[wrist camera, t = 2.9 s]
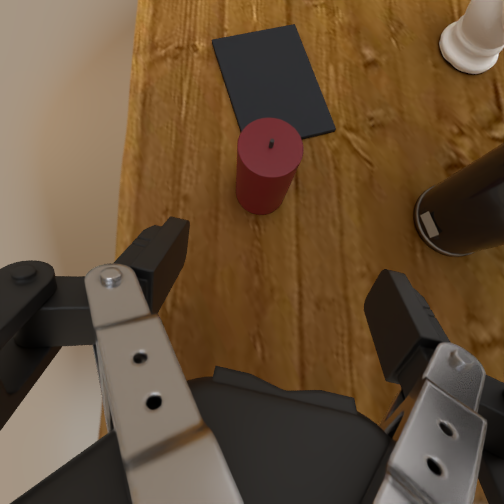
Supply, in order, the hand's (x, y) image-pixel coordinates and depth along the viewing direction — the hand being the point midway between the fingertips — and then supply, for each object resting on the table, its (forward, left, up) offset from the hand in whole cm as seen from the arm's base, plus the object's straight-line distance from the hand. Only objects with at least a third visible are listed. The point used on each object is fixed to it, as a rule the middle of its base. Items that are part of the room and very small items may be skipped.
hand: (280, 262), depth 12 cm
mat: (-11, -26, -22) cm, 36 cm away
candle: (-5, -12, -22) cm, 25 cm away
